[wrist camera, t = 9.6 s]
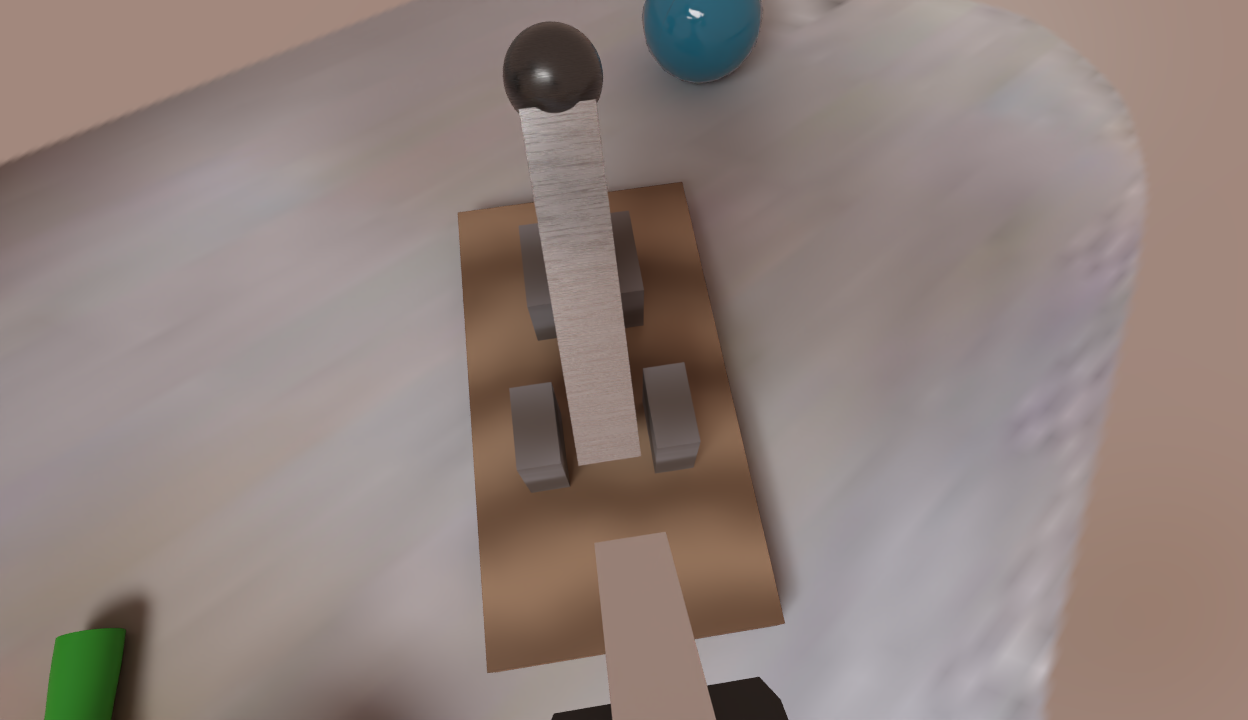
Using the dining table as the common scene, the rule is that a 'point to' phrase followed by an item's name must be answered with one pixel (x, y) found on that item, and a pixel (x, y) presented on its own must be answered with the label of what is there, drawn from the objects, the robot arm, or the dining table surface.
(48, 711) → the green onion
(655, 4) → the ball
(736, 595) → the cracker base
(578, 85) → the lever
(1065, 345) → the dining table surface
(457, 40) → the dining table surface
